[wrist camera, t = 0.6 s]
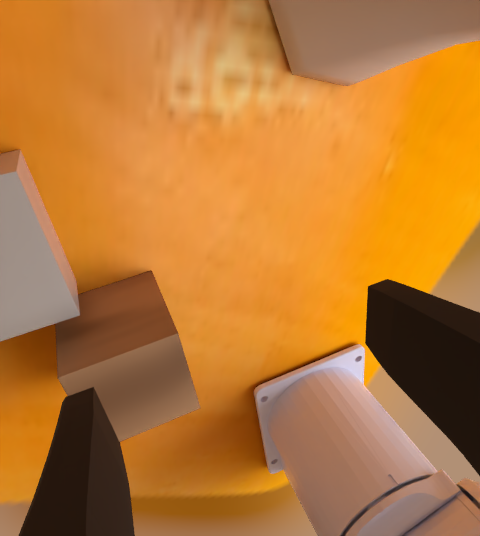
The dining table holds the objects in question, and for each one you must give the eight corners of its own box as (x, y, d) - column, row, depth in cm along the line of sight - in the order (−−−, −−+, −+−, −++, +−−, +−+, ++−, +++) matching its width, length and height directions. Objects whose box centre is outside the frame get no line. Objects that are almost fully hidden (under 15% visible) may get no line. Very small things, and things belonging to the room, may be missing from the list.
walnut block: (172, 338, 23) (200, 408, 19) (88, 369, 22) (98, 450, 18) (151, 269, 20) (177, 333, 16) (54, 301, 19) (57, 377, 15)
